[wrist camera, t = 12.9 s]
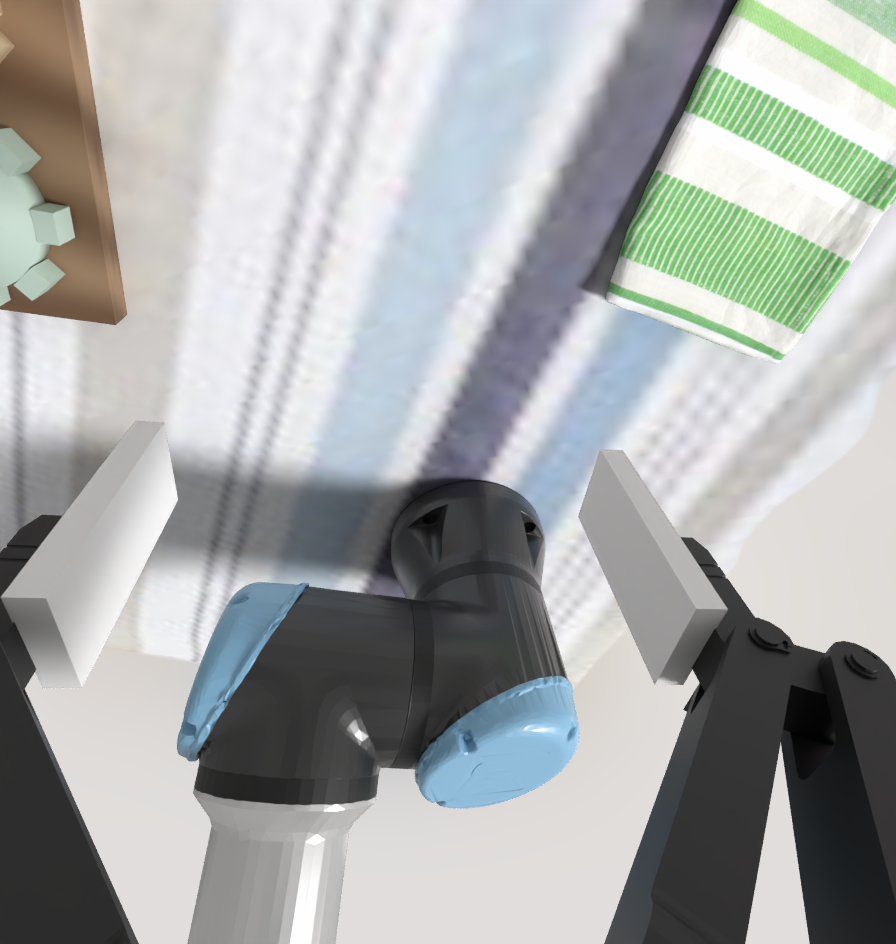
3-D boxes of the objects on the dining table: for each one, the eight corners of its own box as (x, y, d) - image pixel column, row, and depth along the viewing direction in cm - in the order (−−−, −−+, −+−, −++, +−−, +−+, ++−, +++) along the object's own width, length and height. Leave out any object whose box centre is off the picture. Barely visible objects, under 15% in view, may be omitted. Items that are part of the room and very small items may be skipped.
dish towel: (1012, 24, 34) (1055, 21, 32) (769, 357, 47) (787, 372, 44) (791, -123, 30) (823, -138, 27) (586, 292, 42) (596, 304, 40)
